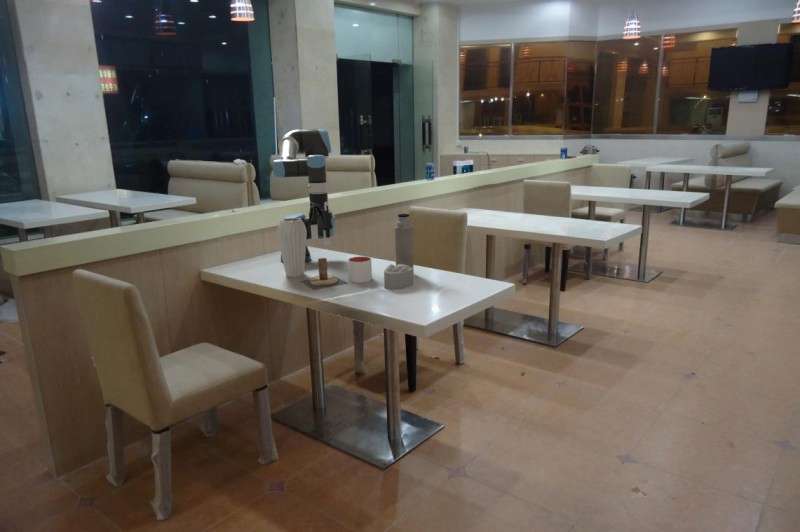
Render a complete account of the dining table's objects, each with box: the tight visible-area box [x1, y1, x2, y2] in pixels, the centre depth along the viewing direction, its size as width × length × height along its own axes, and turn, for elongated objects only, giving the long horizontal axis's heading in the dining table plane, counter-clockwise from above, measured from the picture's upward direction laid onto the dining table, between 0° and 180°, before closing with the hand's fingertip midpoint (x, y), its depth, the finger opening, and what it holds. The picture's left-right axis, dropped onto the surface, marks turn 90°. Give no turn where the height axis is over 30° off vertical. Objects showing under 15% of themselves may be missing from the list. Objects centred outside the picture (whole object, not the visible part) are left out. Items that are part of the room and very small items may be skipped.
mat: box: [299, 274, 349, 291], centre depth 246 cm, size 16×16×1 cm
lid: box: [309, 257, 338, 286], centre depth 245 cm, size 12×12×10 cm
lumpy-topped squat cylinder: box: [383, 263, 414, 291], centre depth 240 cm, size 10×13×9 cm
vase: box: [276, 218, 307, 278], centre depth 256 cm, size 13×13×26 cm
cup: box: [347, 256, 373, 284], centre depth 247 cm, size 10×10×10 cm
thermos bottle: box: [394, 213, 415, 276], centre depth 253 cm, size 8×8×28 cm
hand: (321, 242), depth 241 cm, fingers open, 13 cm apart
